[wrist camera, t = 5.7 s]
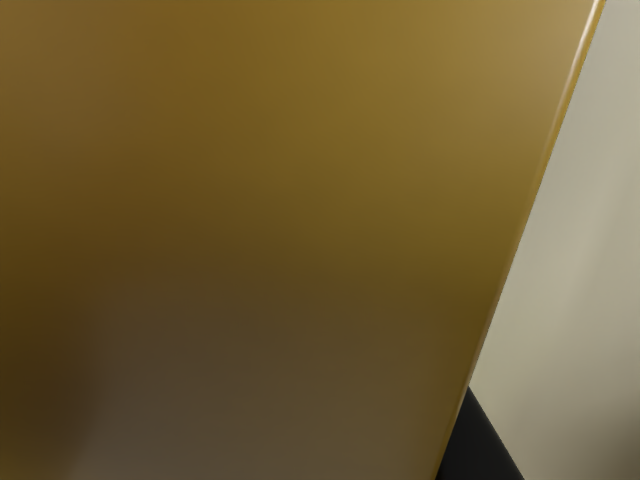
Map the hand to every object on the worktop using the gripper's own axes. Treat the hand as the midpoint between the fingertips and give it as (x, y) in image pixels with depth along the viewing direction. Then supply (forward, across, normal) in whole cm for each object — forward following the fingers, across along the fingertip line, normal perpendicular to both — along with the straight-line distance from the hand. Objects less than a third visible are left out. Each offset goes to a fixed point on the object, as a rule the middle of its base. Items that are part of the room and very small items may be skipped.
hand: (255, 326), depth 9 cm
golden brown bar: (+1, 0, 0) cm, 1 cm away
